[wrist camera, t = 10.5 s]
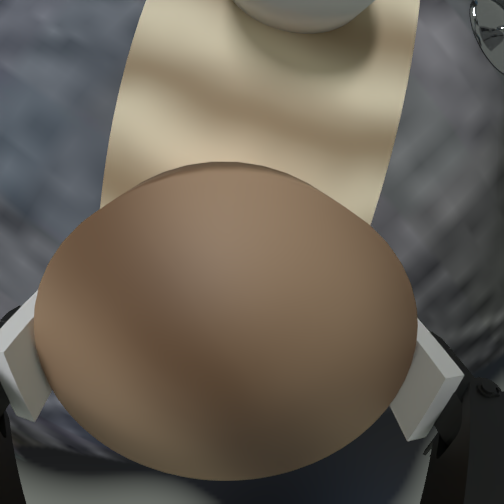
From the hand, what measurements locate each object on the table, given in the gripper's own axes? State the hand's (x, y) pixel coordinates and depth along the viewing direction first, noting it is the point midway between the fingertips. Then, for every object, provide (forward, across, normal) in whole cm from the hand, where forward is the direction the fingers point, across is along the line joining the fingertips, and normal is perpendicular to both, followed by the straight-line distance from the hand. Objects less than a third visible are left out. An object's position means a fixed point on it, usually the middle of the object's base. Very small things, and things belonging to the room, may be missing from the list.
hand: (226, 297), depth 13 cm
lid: (-2, 0, 0) cm, 2 cm away
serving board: (+7, +1, +8) cm, 10 cm away
